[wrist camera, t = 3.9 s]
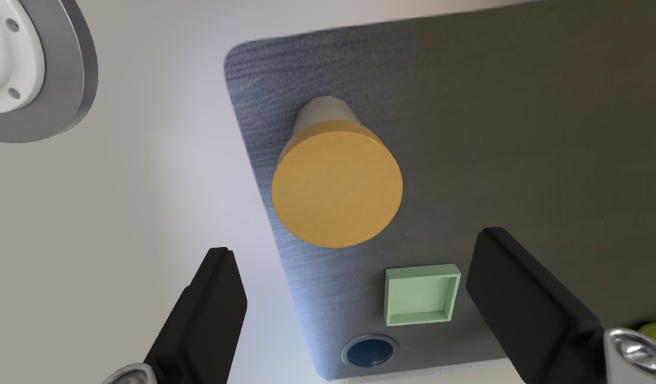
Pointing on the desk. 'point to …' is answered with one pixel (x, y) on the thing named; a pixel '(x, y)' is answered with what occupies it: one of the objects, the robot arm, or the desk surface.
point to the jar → (323, 112)
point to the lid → (336, 184)
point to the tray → (420, 294)
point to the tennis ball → (649, 330)
